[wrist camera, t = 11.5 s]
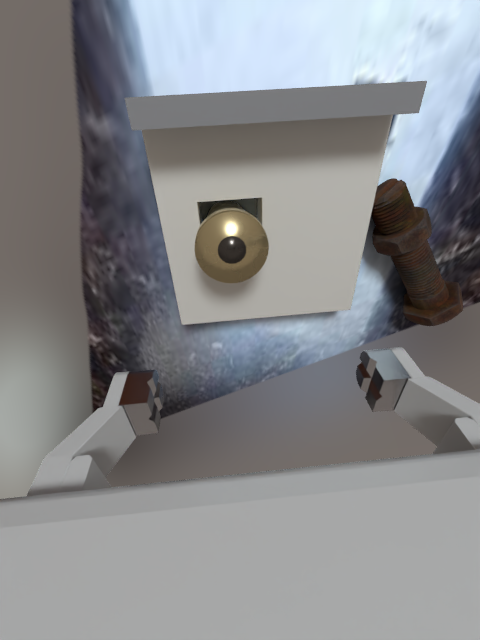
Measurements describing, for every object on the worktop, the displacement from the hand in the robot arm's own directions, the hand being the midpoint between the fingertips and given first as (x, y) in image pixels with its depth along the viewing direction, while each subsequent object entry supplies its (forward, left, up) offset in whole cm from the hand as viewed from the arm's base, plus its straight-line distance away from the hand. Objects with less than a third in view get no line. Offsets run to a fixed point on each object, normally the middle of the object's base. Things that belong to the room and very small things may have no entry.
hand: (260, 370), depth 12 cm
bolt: (-17, +4, -19) cm, 26 cm away
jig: (-3, 0, -18) cm, 19 cm away
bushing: (0, 0, -18) cm, 18 cm away
